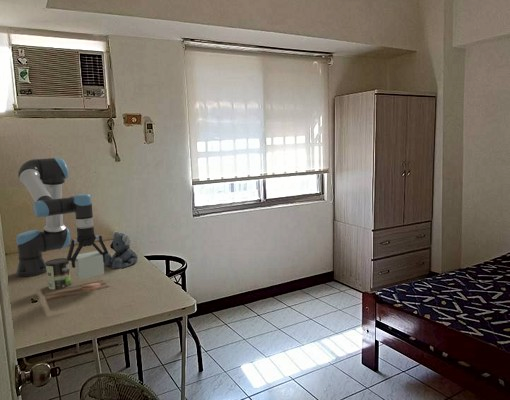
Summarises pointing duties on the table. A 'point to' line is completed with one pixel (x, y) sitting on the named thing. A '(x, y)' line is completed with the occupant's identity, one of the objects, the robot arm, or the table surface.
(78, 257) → the pale green block
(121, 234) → the koala plush
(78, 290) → the board
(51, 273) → the coffee can
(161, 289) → the table surface
